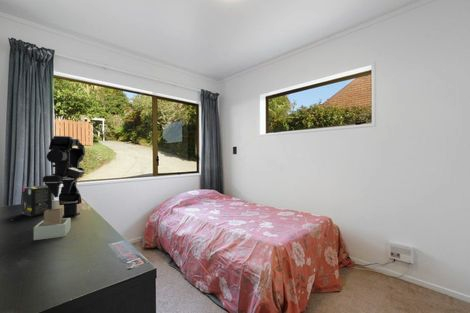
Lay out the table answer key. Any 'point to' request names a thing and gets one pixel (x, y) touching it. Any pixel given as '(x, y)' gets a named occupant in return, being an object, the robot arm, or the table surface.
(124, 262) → the table surface
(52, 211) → the tan upright block
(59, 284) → the table surface
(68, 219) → the pale green open tray
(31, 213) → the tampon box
